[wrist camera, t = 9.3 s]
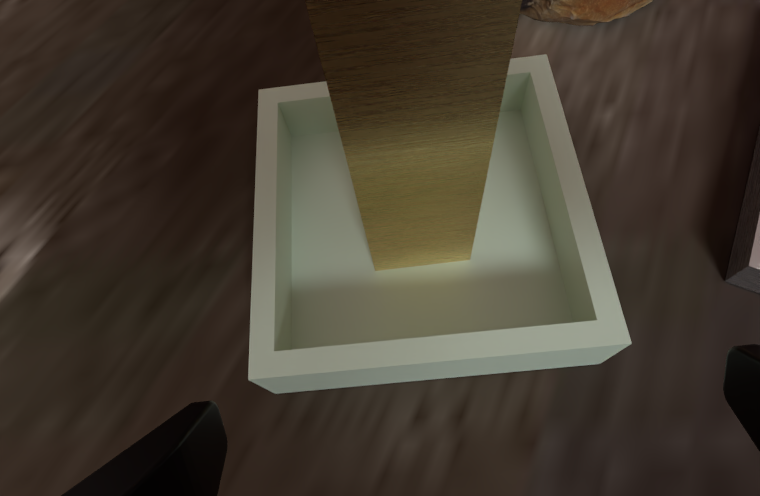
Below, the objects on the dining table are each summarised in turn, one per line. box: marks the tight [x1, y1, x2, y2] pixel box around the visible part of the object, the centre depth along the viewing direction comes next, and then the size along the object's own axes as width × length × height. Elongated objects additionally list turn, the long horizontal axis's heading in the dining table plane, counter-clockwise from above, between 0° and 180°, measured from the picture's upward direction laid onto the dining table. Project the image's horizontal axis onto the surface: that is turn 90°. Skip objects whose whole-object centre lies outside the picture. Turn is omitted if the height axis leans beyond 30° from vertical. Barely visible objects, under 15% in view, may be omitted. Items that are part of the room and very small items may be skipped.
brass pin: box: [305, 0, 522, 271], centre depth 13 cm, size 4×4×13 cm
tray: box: [248, 54, 632, 394], centre depth 19 cm, size 12×12×3 cm
